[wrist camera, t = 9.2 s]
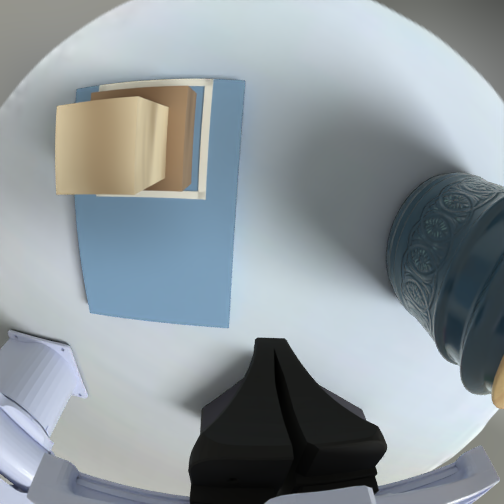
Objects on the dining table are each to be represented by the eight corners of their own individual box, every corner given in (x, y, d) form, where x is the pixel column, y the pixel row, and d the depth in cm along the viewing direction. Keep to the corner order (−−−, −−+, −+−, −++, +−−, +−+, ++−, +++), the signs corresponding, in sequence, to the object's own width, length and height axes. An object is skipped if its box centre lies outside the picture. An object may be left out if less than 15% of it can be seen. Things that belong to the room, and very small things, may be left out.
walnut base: (108, 182, 19) (88, 190, 16) (111, 97, 17) (91, 92, 14) (191, 183, 19) (182, 191, 16) (196, 93, 17) (188, 85, 14)
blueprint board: (94, 307, 24) (89, 313, 22) (83, 90, 17) (76, 88, 16) (229, 320, 24) (228, 328, 23) (245, 83, 18) (245, 80, 17)
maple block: (102, 177, 16) (56, 194, 11) (104, 111, 14) (57, 106, 10) (165, 178, 16) (134, 194, 11) (168, 107, 15) (138, 96, 10)
